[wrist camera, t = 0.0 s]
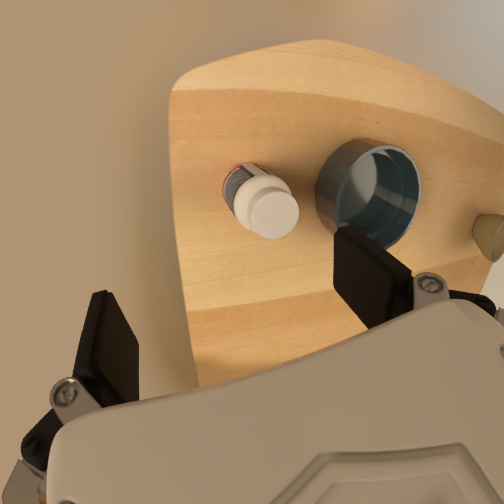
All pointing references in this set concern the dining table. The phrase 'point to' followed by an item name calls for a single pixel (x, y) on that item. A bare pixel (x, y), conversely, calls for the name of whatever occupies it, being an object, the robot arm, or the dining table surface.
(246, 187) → the pill bottle
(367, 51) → the dining table surface
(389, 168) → the bowl
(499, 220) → the flower pot
